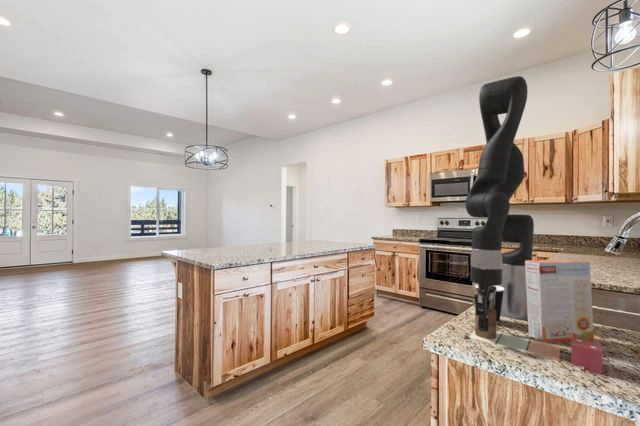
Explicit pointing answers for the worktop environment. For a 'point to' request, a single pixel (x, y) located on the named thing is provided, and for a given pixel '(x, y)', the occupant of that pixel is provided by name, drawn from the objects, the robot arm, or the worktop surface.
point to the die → (587, 355)
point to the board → (523, 345)
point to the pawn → (491, 325)
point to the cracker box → (559, 300)
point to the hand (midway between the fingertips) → (485, 327)
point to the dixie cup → (497, 301)
